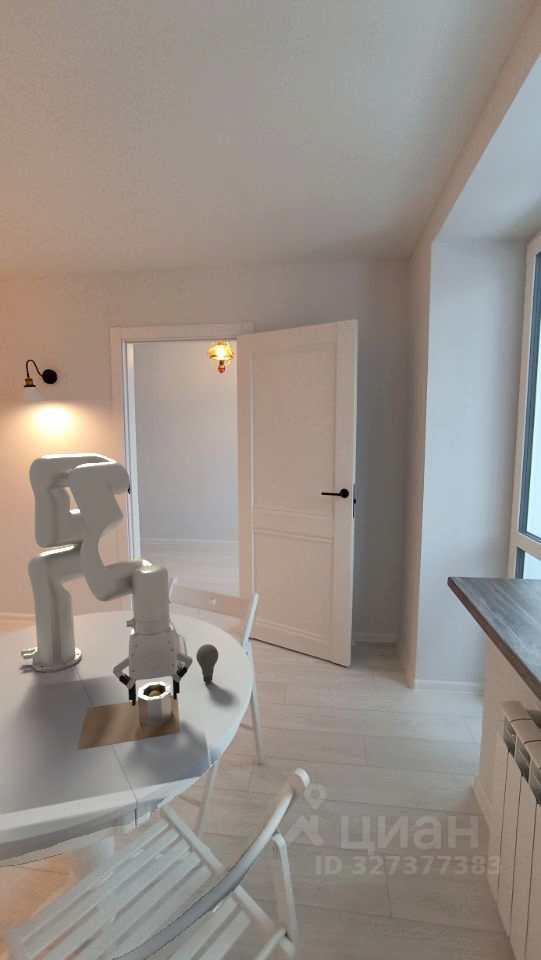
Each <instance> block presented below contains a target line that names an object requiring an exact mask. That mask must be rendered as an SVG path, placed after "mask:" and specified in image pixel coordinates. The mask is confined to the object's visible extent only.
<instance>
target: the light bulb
mask: <svg viewBox="0 0 541 960" xmlns="http://www.w3.org/2000/svg"><path fill="white" fill-rule="evenodd" d="M196 660H197V663H198V665H199V667H200V669H201V673H202V678H203V679H202V680H203V682H204V683H206V684H209V683H211V682H212V681H213V677H214V675H213V674H214V669H215V665H216V664H217V662H218V660H219V652H218V649H217V647H215V645H212V644H209V643H208V644H203V645H201V646H200V647H199V648H198V650H197V652H196Z"/></svg>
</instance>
